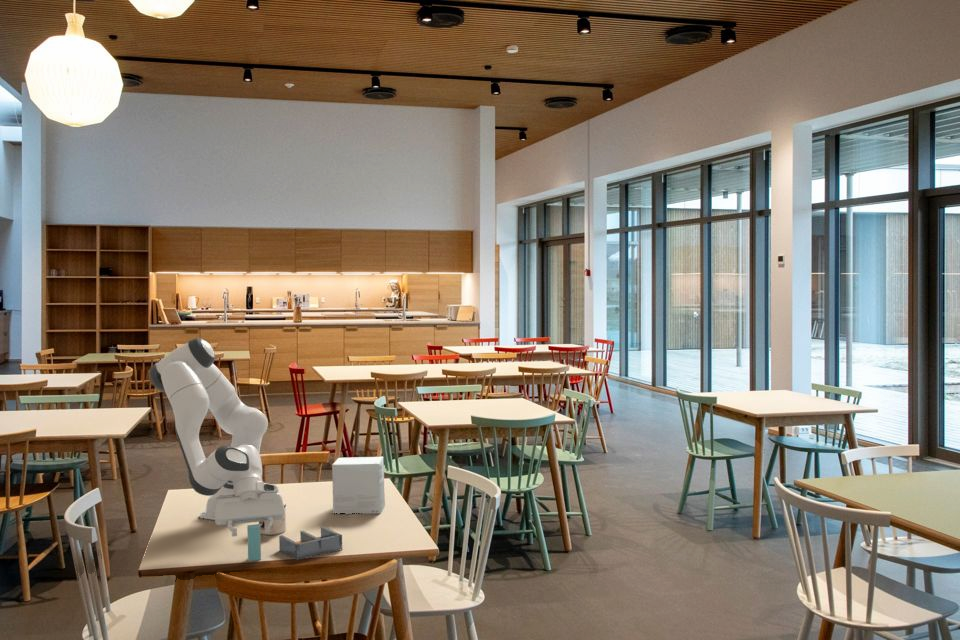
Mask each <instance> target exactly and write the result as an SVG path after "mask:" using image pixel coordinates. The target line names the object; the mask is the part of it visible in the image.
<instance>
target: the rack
mask: <svg viewBox="0 0 960 640" xmlns="http://www.w3.org/2000/svg"><path fill="white" fill-rule="evenodd" d="M299 534H300V535H299V536H300V540H299V541H294V540H292V539H290V538H289V537H286V536H285V535H283V534H282V535H281V534H280V535H279V536H278V543H279V551H280V552H281V553H284V554H286V555H287V556H289V557H291V558H292V557H293V558H292V559H294V558H295V559H294V560H296V561H299V560H303V559H302V558H304V559H307V558H306V557H309V558H312V557H311V556H313V557H316V556H315V555H317V556H320V554H322V555H325V554H324V553H326V554H329V553H328V552H330V553H333V552H332V551H335V552H337V551H336V550H339V551H341V550H340V549H342V550H343V535H342V534H341V533H338V532H336V531H334V530H332V529H330V528H327V527H326V526H320V536H318V537H316V536H315V535H312V534H310V533H309V532H307V531H304V530H300V533H299Z"/></svg>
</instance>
